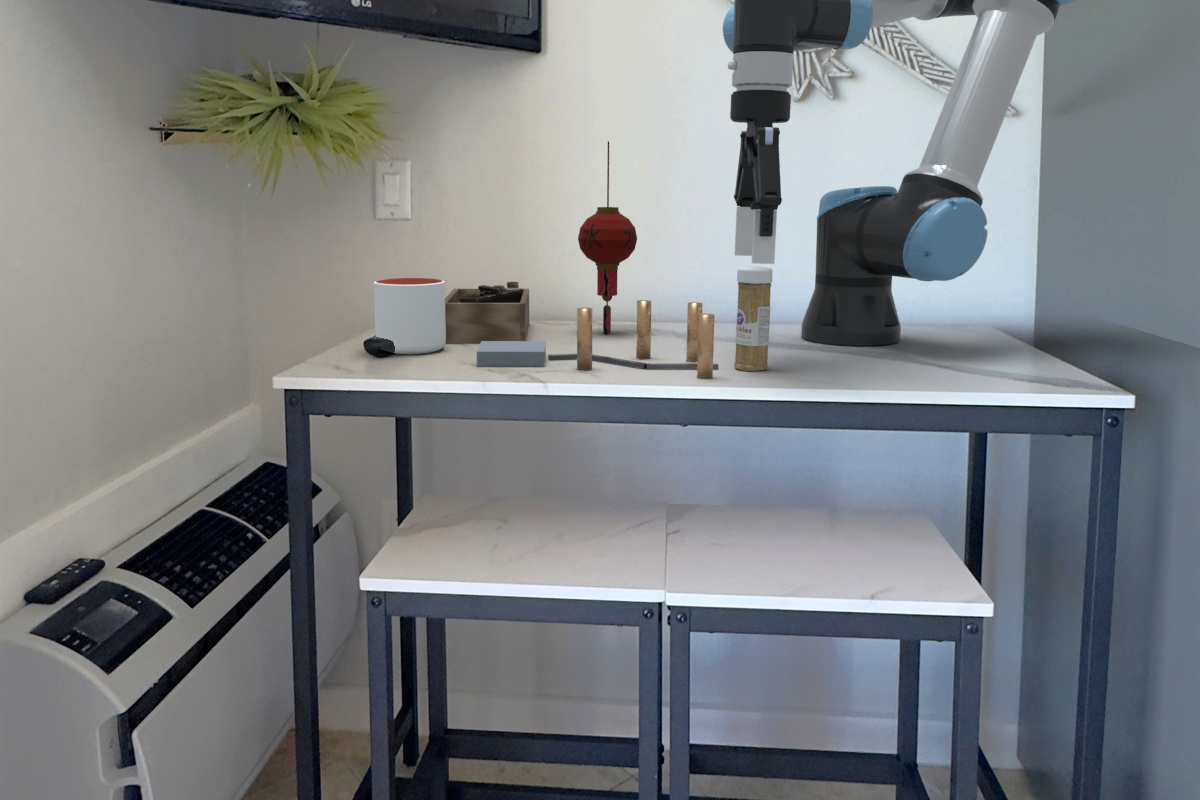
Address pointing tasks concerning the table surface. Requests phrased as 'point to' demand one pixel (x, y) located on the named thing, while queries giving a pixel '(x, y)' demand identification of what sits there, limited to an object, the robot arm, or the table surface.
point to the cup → (411, 314)
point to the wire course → (697, 342)
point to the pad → (511, 353)
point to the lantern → (607, 248)
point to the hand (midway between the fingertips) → (753, 259)
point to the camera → (494, 294)
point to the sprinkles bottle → (753, 318)
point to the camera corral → (485, 319)
